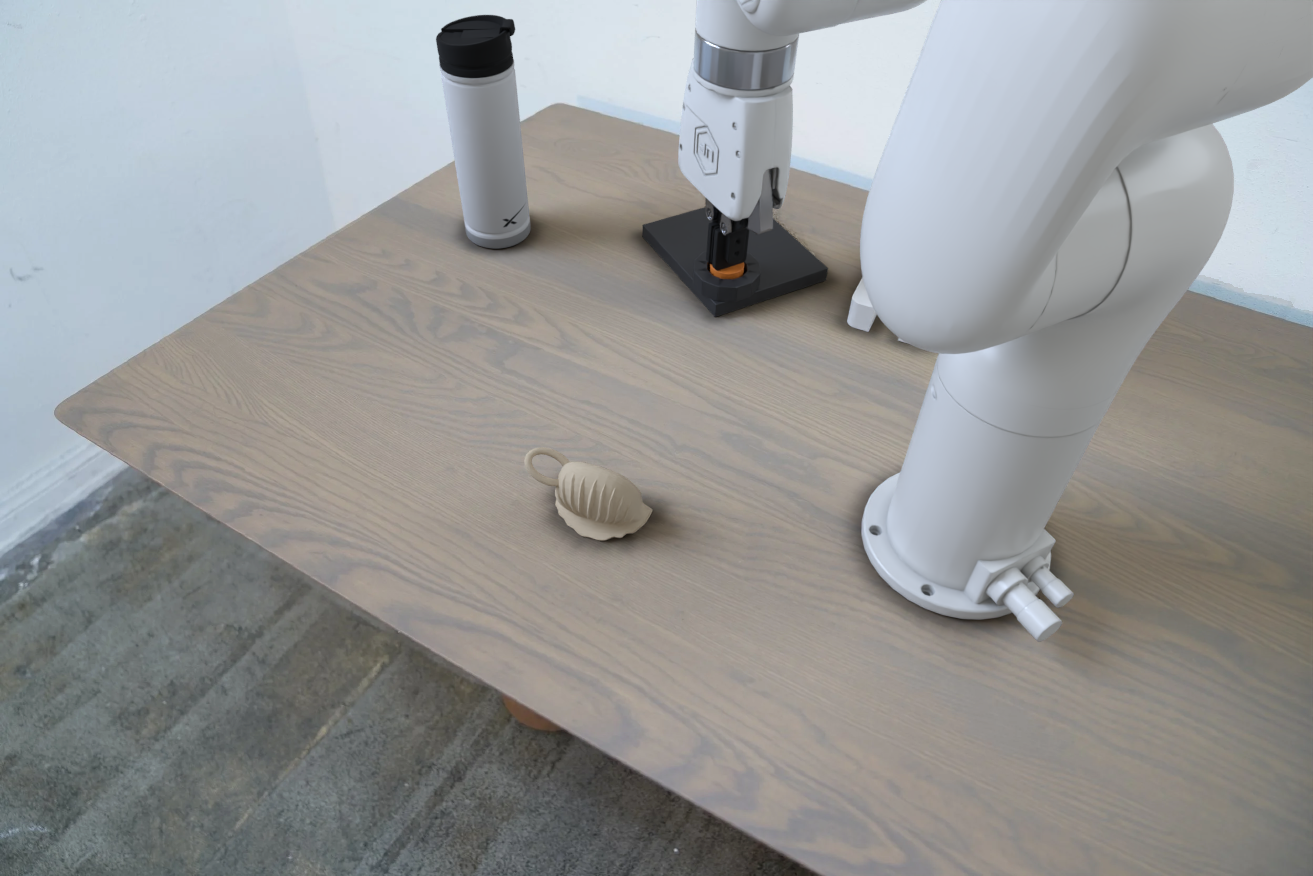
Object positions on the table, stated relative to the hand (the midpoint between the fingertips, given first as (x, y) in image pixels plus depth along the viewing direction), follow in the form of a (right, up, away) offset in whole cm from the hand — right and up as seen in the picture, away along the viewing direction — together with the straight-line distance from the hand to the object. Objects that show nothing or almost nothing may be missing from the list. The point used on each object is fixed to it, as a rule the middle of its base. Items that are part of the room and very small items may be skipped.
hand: (725, 261), depth 79 cm
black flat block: (+1, +1, +6) cm, 6 cm away
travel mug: (-21, +4, +9) cm, 24 cm away
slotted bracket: (+16, -3, +3) cm, 17 cm away
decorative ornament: (-11, -21, -15) cm, 28 cm away
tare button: (0, -1, +1) cm, 2 cm away
